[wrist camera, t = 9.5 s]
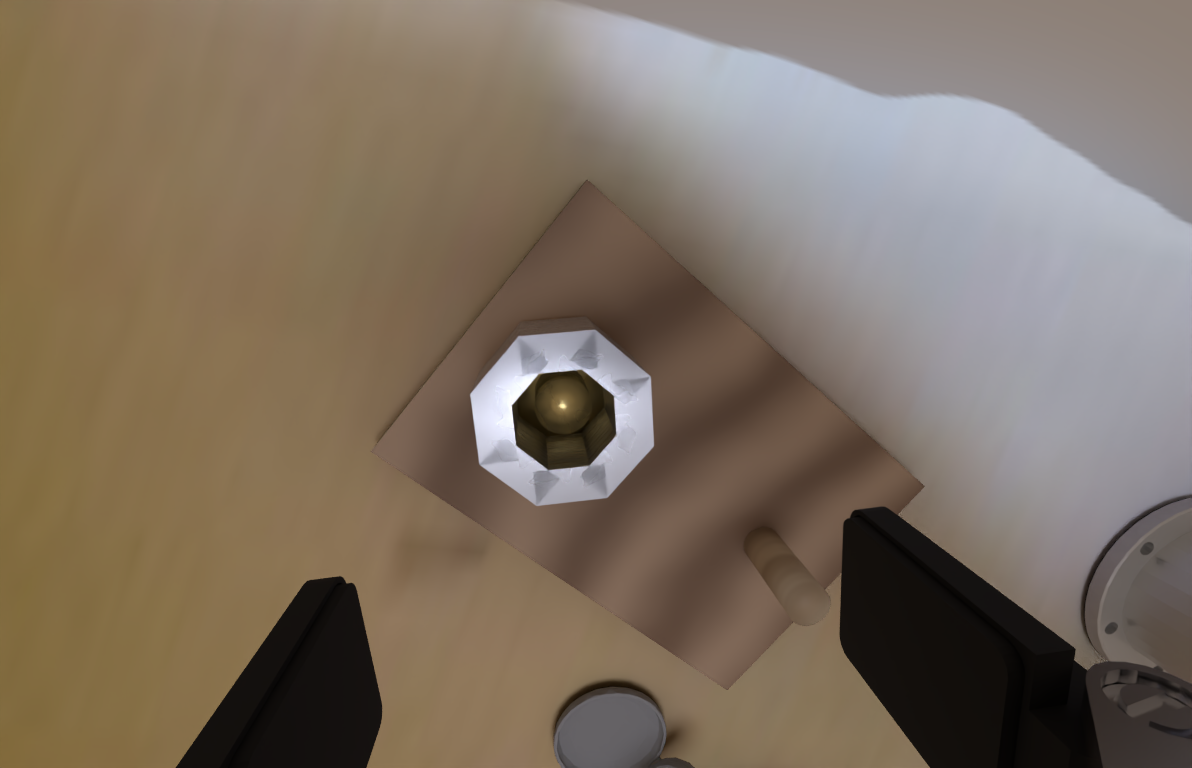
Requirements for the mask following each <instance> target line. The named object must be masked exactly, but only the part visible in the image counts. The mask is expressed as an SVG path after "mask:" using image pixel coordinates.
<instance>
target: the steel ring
mask: <svg viewBox="0 0 1192 768" xmlns="http://www.w3.org/2000/svg"><path fill="white" fill-rule="evenodd" d="M572 370H583V371H584V372H586V373H587V374H588V375H589V376H591V377H592V378H593V379H594V380H595V381H597V382H598V383H599V384H600V385H601V386H603V399H604V408H603V409H602V410H601V411H600V412H599V413H598V414H597V416H596V417H595V418H594V419H593V420H592V421H591V422H590V424H589V425H588V426H587V427H586V428H585V429H584V430H583V432H582V433H576V434H567V435H557V436H547V437H546V436H545V435H544V434H542V433H541V432H540V431H538V430H537V429H536V428H534V427H533V426H532V425H530V424H529V423H528V422H527V421H525V420H524V419H523V418H521V417H520V416H519V414H518V405H517V399H518V398H519V396H520V395H521V394H522V393H523V392H524V391H525V389H526V388H527V387H528V386H529V385H530V384H531V382H532V381H533V380H534V379H535V378H536V376H537V375H538V374H540V373H551V372H561V371H572ZM470 397H471V404H472V412H473V419H474V427H475V434H476V442H477V449H478V457H479V464H480V465H481V466H482V467H483V468H485V469H486V470H487V471H489V472H490V473H492V474H493V475H494V476H496V477H497V478H499V479H500V480H501V481H503V482H504V483H505V484H507V485H508V486H510V487H511V488H512V489H514V490H515V491H517V492H518V493H519V494H521V495H522V496H523V497H525V498H526V499H528V500H529V501H530V502H532V503H533V504H535V505H536V506H541V505H550V504H559V503H567V502H576V501H585V500H593V499H602V498H608V497H609V495H610V494H611V493H612V492H613V491H614V490H615V489H616V488H617V487H618V485H619V484H620V483H621V482H622V481H623V480H624V479H625V478H626V477H627V475H628V474H629V473H630V472H631V471H632V470H633V469H634V468H635V467H636V465H637V464H638V463H639V462H640V461H641V460H642V459H643V458H644V457H645V455H646V454H647V453H648V452H649V451H650V450H651V449H652V448H653V447H654V436H653V414H652V392H651V377H650V375H649V374H648V373H647V372H646V371H645V370H644V369H643V368H642V366H641V365H640V364H639V363H638V362H637V361H636V360H635V358H634V357H633V356H632V355H630V354H629V353H628V352H627V351H626V350H624V349H623V348H622V347H621V346H620V345H619V344H617V343H616V342H615V341H614V340H613V339H612V338H610V337H609V336H608V335H607V334H606V333H605V332H603V331H602V330H601V329H600V328H599V327H598V326H596V325H595V324H594V323H593V322H592V321H591V320H589V319H588V318H587V317H586V316H583V317H571V318H560V319H548V320H536V321H524V322H520V323H519V325H518V326H517V327H516V328H515V329H514V331H513V332H512V333H511V334H510V335H509V337H508V338H507V339H506V340H505V341H504V343H503V344H502V345H501V346H500V347H499V349H498V350H497V351H496V352H495V353H494V355H493V356H492V357H491V358H490V359H489V361H488V362H487V363H486V364H485V365H484V367H483V368H482V369H481V370H480V372H479V374H478V377H477V379H476V381H475V384H474V386H473V389H472V391H471V393H470Z"/></svg>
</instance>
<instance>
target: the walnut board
mask: <svg viewBox="0 0 1192 768" xmlns="http://www.w3.org/2000/svg"><path fill="white" fill-rule="evenodd" d="M583 316H586V317H587V318H588V319H589V320H591V321H592V322H593V323H594V324H595V325H596V326H598V327H599V328H600V329H601V330H602V331H603V332H605V333H606V334H607V335H608V336H609V337H610V338H612V339H613V340H614V341H615V342H616V343H617V344H619V345H620V346H621V347H622V348H623V349H624V350H626V351H627V352H628V353H629V354H630V355H632V356H633V357H634V358H635V360H636V361H637V362H638V363H639V364H640V365H641V366H642V368H643V369H644V370H645V371H646V372H647V373H648V374H649V375H650V377H651V392H652V414H653V436H654V447H653V448H652V449H651V450H650V451H649V452H648V453H647V454H646V455H645V457H644V458H643V459H642V460H641V461H640V462H639V463H638V464H637V465H636V467H635V468H634V469H633V470H632V471H631V472H630V473H629V474H628V475H627V477H626V478H625V479H624V480H623V481H622V482H621V483H620V484H619V485H618V487H617V488H616V489H615V490H614V491H613V492H612V493H611V494H610V495H609V497H608V498H602V499H593V500H585V501H576V502H567V503H559V504H550V505H541V506H536V505H535V504H533V503H532V502H530V501H529V500H528V499H526V498H525V497H523V496H522V495H521V494H519V493H518V492H517V491H515V490H514V489H512V488H511V487H510V486H508V485H507V484H505V483H504V482H503V481H501V480H500V479H499V478H497V477H496V476H494V475H493V474H492V473H490V472H489V471H487V470H486V469H485V468H483V467H482V466H481V465H480V464H479V457H478V449H477V442H476V434H475V427H474V419H473V412H472V404H471V397H470V393H471V391H472V389H473V386H474V384H475V381H476V379H477V377H478V374H479V372H480V370H481V369H482V368H483V367H484V365H485V364H486V363H487V362H488V361H489V359H490V358H491V357H492V356H493V355H494V353H495V352H496V351H497V350H498V349H499V347H500V346H501V345H502V344H503V343H504V341H505V340H506V339H507V338H508V337H509V335H510V334H511V333H512V332H513V331H514V329H515V328H516V327H517V326H518V325H519V323H520V322H524V321H536V320H546V319H552V318H571V317H583ZM371 452H372V453H374V454H375V455H377V456H378V457H380V458H381V459H383V460H384V461H386V462H387V463H389V464H390V465H392V466H393V467H395V468H396V469H398V470H399V471H401V472H402V473H404V474H405V475H407V476H408V477H410V478H411V479H412V480H414V481H415V482H417V483H418V484H420V485H421V486H423V487H424V488H426V489H427V490H429V491H430V492H432V493H433V494H435V495H436V496H438V497H439V498H441V499H442V500H444V501H445V502H447V503H448V504H450V505H451V506H453V507H454V508H456V509H457V510H459V511H460V512H462V513H463V514H465V515H466V516H468V517H469V518H471V519H472V520H474V521H475V522H477V523H478V524H480V525H481V526H483V527H484V528H486V529H487V530H489V531H490V532H492V533H493V534H495V535H496V536H498V537H499V538H501V539H502V540H504V541H505V542H507V543H508V544H510V545H511V546H513V547H514V548H516V549H517V550H519V551H520V552H522V553H523V554H525V555H526V556H528V557H529V558H531V559H532V560H534V561H535V562H537V563H538V564H539V565H541V566H542V567H544V568H545V569H547V570H548V571H550V572H551V573H553V574H554V575H556V576H557V577H559V578H560V579H562V580H563V581H565V582H566V583H568V584H569V585H571V586H572V587H574V588H575V589H577V590H578V591H580V592H581V593H583V594H584V595H586V596H587V597H589V598H590V599H592V600H593V601H595V602H596V603H598V604H599V605H601V606H602V607H604V608H605V609H607V610H608V611H610V612H611V613H613V614H614V615H616V616H617V617H619V618H620V619H622V620H623V621H625V622H626V623H628V624H629V625H631V626H632V627H634V628H635V629H637V630H638V631H640V632H641V633H643V634H644V635H646V636H647V637H649V638H650V639H652V640H653V641H655V642H656V643H658V644H659V645H661V646H662V647H664V648H665V649H667V650H668V651H669V652H671V653H672V654H674V655H675V656H677V657H678V658H680V659H681V660H683V661H684V662H686V663H687V664H689V665H690V666H692V667H693V668H695V669H696V670H698V671H699V672H701V673H702V674H704V675H705V676H707V677H708V678H710V679H711V680H713V681H714V682H716V683H717V684H719V685H720V686H722V687H723V688H725V689H726V690H728V689H729V688H730V687H731V686H732V685H733V684H734V683H735V682H736V681H737V680H738V679H739V678H740V677H741V676H742V675H743V673H744V672H745V671H746V670H747V669H748V668H749V667H750V666H751V665H752V664H753V663H754V662H755V661H756V660H757V659H758V658H759V657H760V656H761V655H762V654H763V653H764V652H765V651H766V650H767V649H768V648H769V647H770V646H771V645H772V644H773V643H774V641H775V640H776V639H777V638H778V637H779V636H780V635H781V634H782V633H783V632H784V631H785V630H786V629H787V628H788V627H789V626H790V625H791V624H792V623H793V621H792V620H791V619H790V617H789V616H788V614H787V613H786V611H785V610H784V608H783V607H782V606H781V604H780V603H779V601H778V600H777V598H776V597H775V595H774V594H773V592H772V591H771V590H770V588H769V587H768V585H767V584H766V582H765V581H764V579H763V578H762V576H761V575H760V574H759V572H758V571H757V569H756V568H755V566H754V565H753V563H752V562H751V560H750V559H749V558H748V556H747V555H746V553H745V551H744V541H745V539H746V537H747V535H748V534H749V533H750V532H751V531H753V530H754V529H757V528H760V527H768V528H771V529H773V530H774V531H776V533H777V534H778V535H779V536H780V537H781V539H782V540H783V541H784V542H785V543H786V544H787V546H788V547H789V548H790V549H791V550H792V552H793V553H794V554H795V555H796V556H797V557H798V559H799V560H800V561H801V562H802V563H803V565H804V566H805V567H806V568H807V569H808V571H809V572H810V573H811V574H812V575H813V576H814V578H815V579H816V580H817V581H818V582H819V584H820V585H821V586H822V587H823V588H824V589H826V588H827V587H828V586H829V585H830V584H831V583H832V582H833V581H834V580H835V578H836V577H837V576H838V575H839V574H840V573H841V572H842V544H843V524H844V521H845V520H846V519H847V518H850V516H851V514H852V512H853V511H854V510H858V509H865V508H873V507H881V506H885V507H887V508H889V509H890V510H891V511H893V512H894V513H895V514H898V513H899V512H900V511H901V510H902V509H903V508H904V507H905V506H906V505H907V504H908V503H909V502H910V501H911V500H912V499H913V498H914V497H915V496H916V495H917V494H918V493H919V492H920V491H921V490H922V489H923V488H924V487H925V486H924V485H923V484H921V483H920V482H919V481H918V480H917V479H916V478H915V477H914V476H913V475H912V474H910V473H909V472H908V471H907V470H906V469H905V468H904V467H903V466H902V465H901V464H899V463H898V462H897V461H896V460H895V459H894V458H893V457H892V456H891V455H890V454H888V453H887V452H886V451H885V450H884V449H883V448H882V447H881V446H880V445H879V444H877V443H876V442H875V441H874V440H873V439H872V438H871V437H870V436H869V435H868V434H866V433H865V432H864V431H863V430H862V429H861V428H860V427H859V426H858V425H857V424H855V423H854V422H853V421H852V420H851V419H850V418H849V417H848V416H847V415H846V414H844V413H843V412H842V411H841V410H840V409H839V408H838V407H837V406H836V405H835V404H833V403H832V402H831V401H830V400H829V399H828V398H827V397H826V396H825V395H824V394H822V393H821V392H820V391H819V390H818V389H817V388H816V387H815V386H814V385H813V384H811V383H810V382H809V381H808V380H807V379H806V378H805V377H804V376H803V375H802V374H800V373H799V372H798V371H797V370H796V369H795V368H794V367H793V366H792V365H791V364H789V363H788V362H787V361H786V360H785V359H784V358H783V357H782V356H781V355H780V354H778V353H777V352H776V351H775V350H774V349H773V348H772V347H771V346H770V345H769V344H767V343H766V342H765V341H764V340H763V339H762V338H761V337H760V336H759V335H758V334H756V333H755V332H754V331H753V330H752V329H751V328H750V327H749V326H748V325H747V324H745V323H744V322H743V321H742V320H741V319H740V318H739V317H738V316H737V315H736V314H734V313H733V312H732V311H731V310H730V309H729V308H728V307H727V306H726V305H725V304H723V303H722V302H721V301H720V300H719V299H718V298H717V297H716V296H715V295H714V294H712V293H711V292H710V291H709V290H708V289H707V288H706V287H705V286H704V285H702V284H701V283H700V282H699V281H698V280H697V279H696V278H695V277H694V276H693V275H691V274H690V273H689V272H688V271H687V270H686V269H685V268H684V267H683V266H682V265H680V264H679V263H678V262H677V261H676V260H675V259H674V258H673V257H672V256H671V255H669V254H668V253H667V252H666V251H665V250H664V249H663V248H662V247H661V246H660V245H658V244H657V243H656V242H655V241H654V240H653V239H652V238H651V237H650V236H649V235H647V234H646V233H645V232H644V231H643V230H642V229H641V228H640V227H639V226H638V225H636V224H635V223H634V222H633V221H632V220H631V219H630V218H629V217H628V216H627V215H625V214H624V213H623V212H622V211H621V210H620V209H619V208H618V207H617V206H616V205H614V204H613V203H612V202H611V201H610V200H609V199H608V198H607V197H606V196H605V195H603V194H602V193H601V192H600V191H599V190H598V189H597V188H596V187H595V186H594V185H592V184H591V183H590V182H589V181H588V180H586V182H585V183H584V184H583V185H582V187H581V188H580V189H579V190H578V192H577V193H576V194H575V195H574V197H573V198H572V199H571V200H570V202H569V203H568V204H567V205H566V207H565V208H564V209H563V211H562V212H561V213H560V214H559V216H558V217H557V218H556V219H555V221H554V222H553V223H552V224H551V226H550V227H549V228H548V229H547V231H546V232H545V233H544V234H543V236H542V237H541V238H540V239H539V241H538V242H537V243H536V244H535V246H534V247H533V248H532V249H531V251H530V252H529V253H528V254H527V256H526V257H525V258H524V259H523V261H522V262H521V263H520V265H519V266H518V267H517V268H516V270H515V271H514V272H513V273H512V275H511V276H510V277H509V278H508V280H507V281H506V282H505V283H504V285H503V286H502V287H501V288H500V290H499V291H498V292H497V293H496V295H495V296H494V297H493V298H492V300H491V301H490V302H489V303H488V305H487V306H486V307H485V308H484V310H483V311H482V312H481V313H480V315H479V316H478V317H477V319H476V320H475V321H474V322H473V324H472V325H471V326H470V327H469V329H468V330H467V331H466V332H465V334H464V335H463V336H462V337H461V339H460V340H459V341H458V342H457V344H456V345H455V346H454V347H453V349H452V350H451V351H450V352H449V354H448V355H447V356H446V357H445V359H444V360H443V361H442V362H441V364H440V365H439V366H438V368H437V369H436V370H435V371H434V373H433V374H432V375H431V376H430V378H429V379H428V380H427V381H426V383H425V384H424V385H423V386H422V388H421V389H420V390H419V391H418V393H417V394H416V395H415V396H414V398H413V399H412V400H411V401H410V403H409V404H408V405H407V406H406V408H405V409H404V410H403V411H402V413H401V414H400V415H399V416H398V418H397V419H396V420H395V422H394V423H393V424H392V425H391V427H390V428H389V429H388V430H387V432H386V433H385V434H384V435H383V437H382V438H381V439H380V440H379V442H378V443H377V444H376V445H375V447H374V448H373V449H372V451H371Z"/></svg>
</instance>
